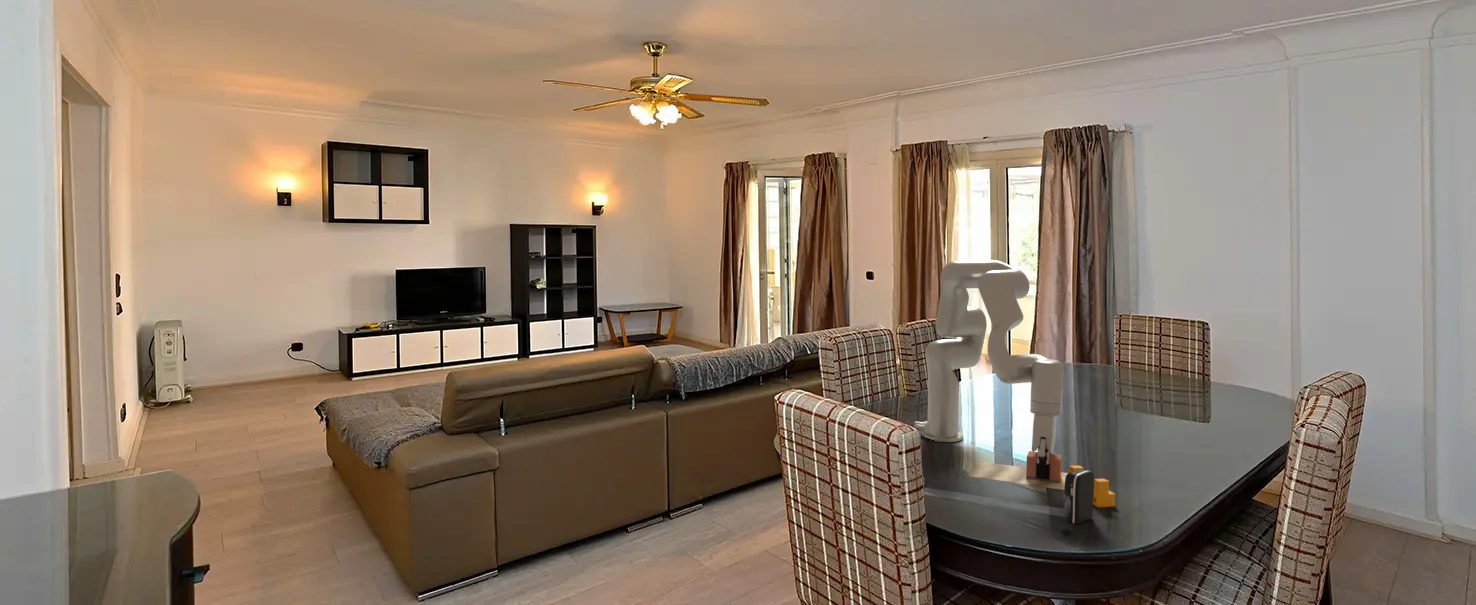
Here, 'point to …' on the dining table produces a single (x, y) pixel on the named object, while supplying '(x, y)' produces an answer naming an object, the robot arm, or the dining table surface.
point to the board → (1011, 475)
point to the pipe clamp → (1100, 491)
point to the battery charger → (1080, 495)
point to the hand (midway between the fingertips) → (1043, 474)
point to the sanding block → (1055, 467)
